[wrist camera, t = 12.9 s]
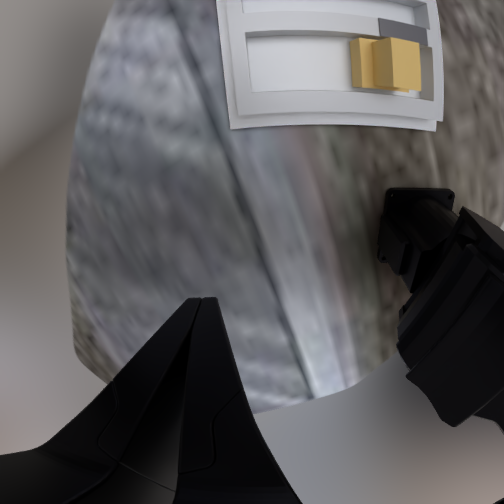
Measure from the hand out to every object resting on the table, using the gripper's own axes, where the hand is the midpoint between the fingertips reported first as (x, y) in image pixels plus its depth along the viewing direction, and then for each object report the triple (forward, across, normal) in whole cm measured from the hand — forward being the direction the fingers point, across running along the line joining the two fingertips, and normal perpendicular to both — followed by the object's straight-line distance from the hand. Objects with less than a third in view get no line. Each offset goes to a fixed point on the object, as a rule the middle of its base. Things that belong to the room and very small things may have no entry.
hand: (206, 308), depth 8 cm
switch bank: (+13, -7, -11) cm, 18 cm away
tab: (+12, -9, -7) cm, 16 cm away
